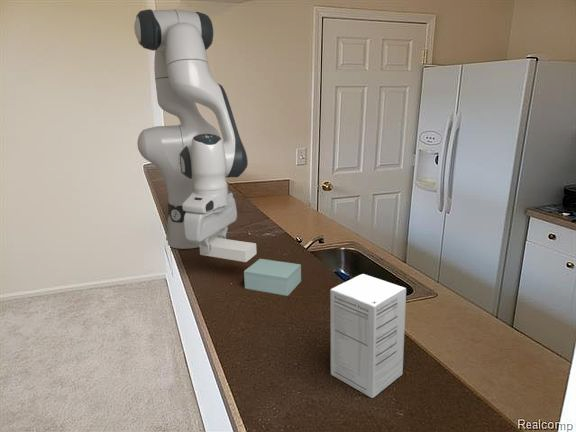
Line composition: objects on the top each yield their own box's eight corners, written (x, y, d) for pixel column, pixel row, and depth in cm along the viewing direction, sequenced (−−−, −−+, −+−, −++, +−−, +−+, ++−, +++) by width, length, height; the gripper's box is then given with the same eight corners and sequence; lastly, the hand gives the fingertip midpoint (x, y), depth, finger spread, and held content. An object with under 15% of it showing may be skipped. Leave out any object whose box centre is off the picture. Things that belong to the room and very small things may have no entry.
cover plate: (212, 246, 121) (211, 236, 120) (256, 253, 116) (256, 243, 115) (200, 254, 116) (199, 244, 115) (245, 262, 111) (245, 251, 110)
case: (260, 274, 119) (259, 258, 117) (301, 281, 114) (300, 264, 113) (244, 288, 111) (243, 271, 109) (287, 295, 106) (287, 278, 105)
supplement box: (404, 374, 76) (409, 287, 71) (372, 400, 70) (376, 307, 65) (360, 352, 83) (362, 271, 78) (328, 374, 77) (328, 287, 72)
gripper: (221, 187, 123) (224, 232, 127) (177, 206, 105) (182, 258, 109) (241, 189, 121) (243, 235, 125) (199, 209, 103) (203, 262, 107)
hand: (214, 246), depth 117 cm, fingers closed on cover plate, 6 cm apart
